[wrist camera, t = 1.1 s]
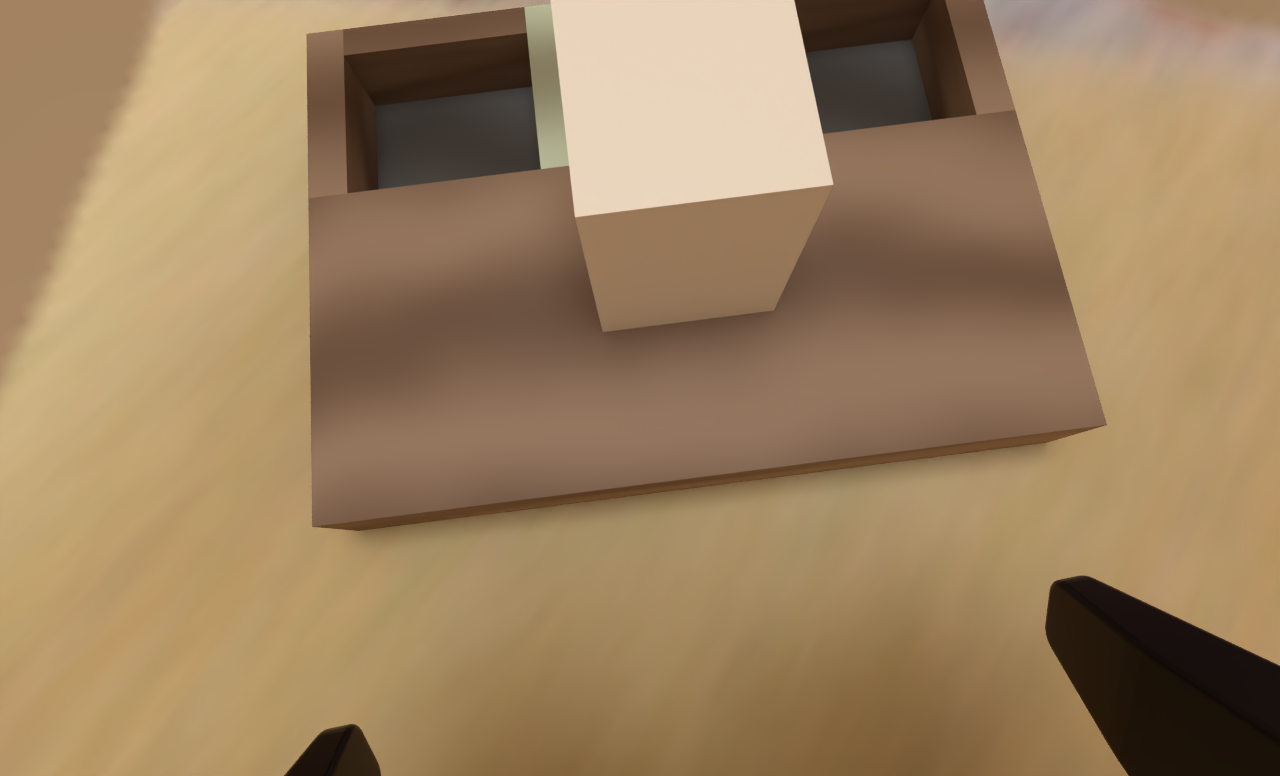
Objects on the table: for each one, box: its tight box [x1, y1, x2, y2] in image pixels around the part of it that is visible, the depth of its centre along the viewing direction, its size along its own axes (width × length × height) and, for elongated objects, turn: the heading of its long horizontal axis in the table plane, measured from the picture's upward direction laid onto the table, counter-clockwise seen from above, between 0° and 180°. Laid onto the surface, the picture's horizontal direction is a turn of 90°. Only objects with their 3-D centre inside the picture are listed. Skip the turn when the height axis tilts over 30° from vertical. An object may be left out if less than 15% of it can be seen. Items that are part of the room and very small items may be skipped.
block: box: [551, 0, 833, 332], centre depth 17 cm, size 5×5×7 cm
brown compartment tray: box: [307, 0, 1107, 531], centre depth 22 cm, size 16×22×3 cm
